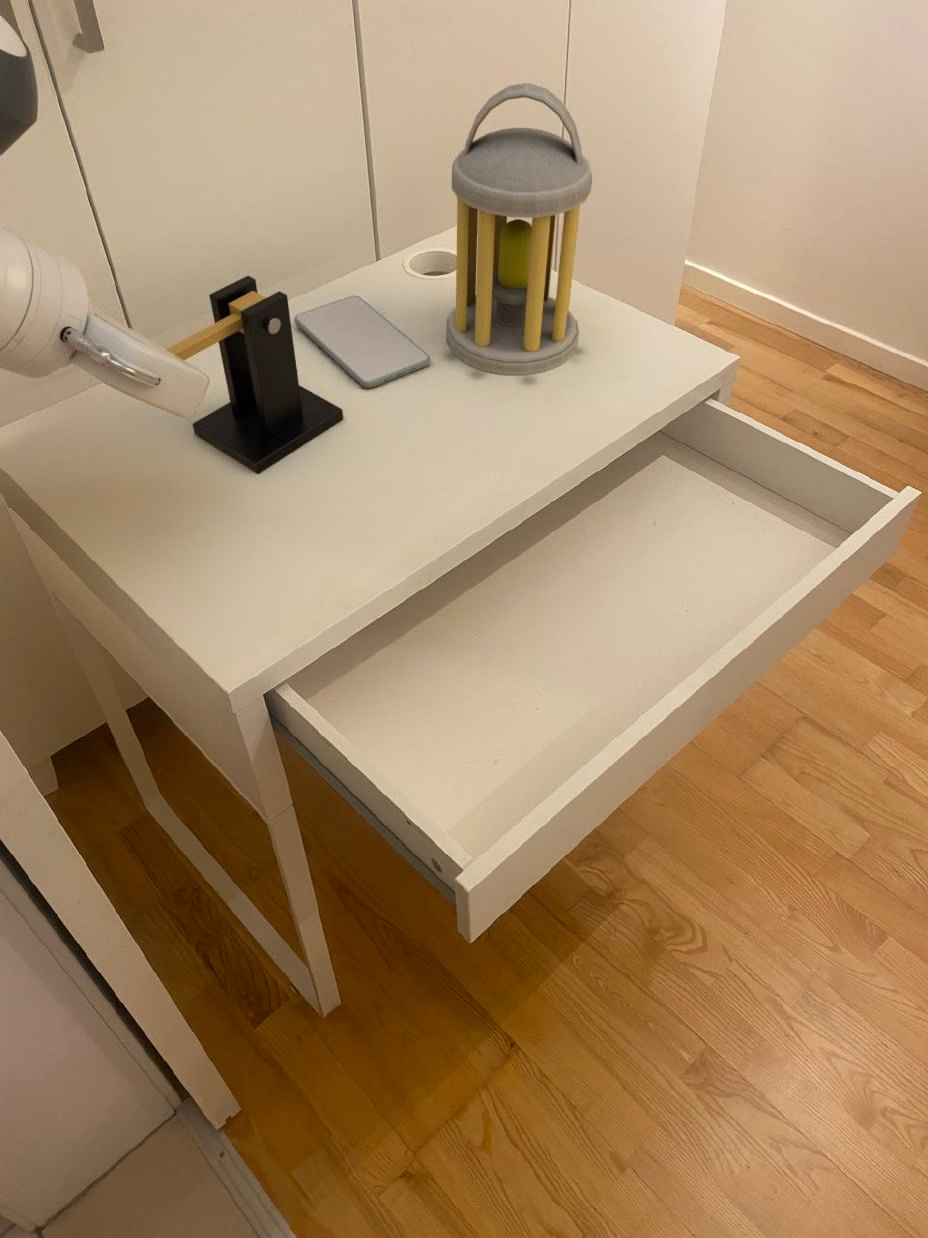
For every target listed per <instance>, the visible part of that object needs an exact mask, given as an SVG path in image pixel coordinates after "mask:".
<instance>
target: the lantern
mask: <svg viewBox="0 0 928 1238" xmlns="http://www.w3.org/2000/svg"><path fill="white" fill-rule="evenodd" d="M523 98H526V99H530V100H533V101H536V102H539V103H541V104H543V105H544V106H546V107H547V108H548V109H550V110H551V111H552V112H553V113H555V115H557V117H558V118H559V119H560V121H561V123H562V125H563V126H564V129H565V130H566V131H567V133H568V136H569V138H570V139H569V140H570V141H568V140H567V139H565V138H563V137H561V136H559V135H557V134H555V133H552V132H550V131H546V130H542V129H538V128H532V127H509V128H503V129H502V128H501V129H498V130H495V131H492V132H488V133H486V134H483V135H482V136H480V137H478V138H477V139H475V137H476V133H477V131H478V129H479V128H480V125H481V124H482V123H483V121H484V120H485V119H486V117H487V116H488V115H489V114H490V113H491V111H492V110H493V109H495V108H497V107H498V106H500V105H502V104H503V103H505V102H506V101H510V100H517V99H523ZM474 139H475V140H474ZM592 185H593V174H592V169H591V165H590V162H589V160H588V159H587V158H586V157H585V156H584V155H583V153H582V144H581V140H580V137H579V133H578V129H577V124H576V121H575V120H574V118H573V117H572V115H571V113H570V112H569V110H568V108H567V106H566V105H565V103H564V102H563V101H562V100H561V99H560V98H559V97H558V96H556V95H555V94H554V93H553V92H552V91H550V89H548V88H546V87H543V86H540V85H536V84H533V83H530V82H524V83H517V84H511V85H508V86H506V87H505V88H503V89H501V90H500V91H498V92H496V93H495V94H493V95H492V96H491V97H490V98H489V99H488V100H487V101H486V102H485V104H484V105H483V106H482V108H481V109H480V110H479V112H478V113H477V114H476V115H475V118H474V120H473V124H472V126H471V128H470V130H469V133H468V135H467V139H466V141H465V143H464V148H463V149H462V150H460V152H459V153H458V154H457V156H456V157H455V158H454V160H453V162H452V166H451V190H452V192H453V193H454V194H455V196H456V197H457V199H456V268H455V269H456V270H455V271H456V273H455V274H456V279H455V281H456V282H455V283H456V284H455V306H454V308H453V309H452V310H451V312H450V314H449V315H448V317H447V318H446V333H445V335H446V336H445V337H446V343H447V346H448V347H449V349H450V351H451V353H452V354H453V355H454V356H455V357H456V358H458V359H459V360H461V362H463V363H464V364H466V365H468V366H470V367H474V368H476V369H478V370H480V371H483V372H489V373H493V374H498V375H504V376H507V375H509V376H526V375H532V374H538V373H544V372H547V371H549V370H551V369H554V368H556V367H559V366H561V365H563V364H564V363H566V361H567V360H569V359H570V358H571V357H572V356H573V355H574V354H575V351H576V348H577V346H578V344H579V336H580V332H579V331H580V330H579V323H578V321H577V319H576V317H575V316H574V315H573V313H572V312H571V310H570V302H571V293H572V285H573V284H572V282H573V276H574V267H575V266H574V265H575V256H576V248H577V237H578V229H579V219H580V210H581V205H582V204H584V203H585V202H587V199H588V198H589V196H590V195H591V192H592ZM560 214H563V221H562V232H561V244H560V252H559V253H560V254H559V265H558V275H557V283H556V294H555V295H556V296H555V298H553V297H550V288H551V276H552V268H553V267H552V266H553V256H554V245H555V233H556V224H557V216H558V215H560ZM508 218H516V219H513V220H509V221H508ZM521 218H524V219H526V218H528V219H531V223H530V222H528V221H527V220H524V219H521Z"/></svg>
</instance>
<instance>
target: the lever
mask: <svg viewBox="0 0 928 1238" xmlns="http://www.w3.org/2000/svg"><path fill="white" fill-rule="evenodd" d="M265 298H267V297H266V296H264V295H262V294H260V293H259V292H258V293H256V292H254V291H251V292H249V293H248V294H246V295H244V296H242V297H240V298H238V299H236V300H234V301H232V302H230V303H229V309H230V314H231V315H229V316H228V317H226V318H224V319H222V320H220V321H218V322H216V323H215V322H214V323H212V324H211V325H209V326H207V327H205V328H204V329H201V330H200V331H198V332H196V333H193V334H192V335H190V336H188V337H187V338H184V339H183V340H181V341H179V342H177V343H176V344H173V345H171V346H170V347H168V348H165V349H166V350H167V351H169V352H171V353H172V354H174V355H176V356H177V357H179V358H181V359H182V360H184V361H186V360H188V359H190V358H191V357H193V356H195V355H197V354H198V353H201V352H202V351H204V350H207V349H208V348H210V347H212V346H213V345H215V344H216V343H219V341H221V340H222V339H224V338H226V337H228V336H230V335H232V334H233V333H235V332H237V331H240V332H242V333H243V334H244V330H243V324H242V318H241V312H240V311H242V310H244V309H246V308H248V307H250V306H252V305H254V304H256V303H257V302H259V301H261V300H263V299H265Z"/></svg>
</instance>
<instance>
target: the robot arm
mask: <svg viewBox="0 0 928 1238" xmlns="http://www.w3.org/2000/svg"><path fill="white" fill-rule="evenodd" d="M36 75H37V74H36V69H35V65H34V61H33V57H32V54H31V50H30V49H29V47H28V45H27V44H26V42H25V41H24V39H23V37H21V36H20V34H18V32H17V31H16V30H15V29H14V28H13V27H12V25H10V23H8V21H6V19H5V18H4V17H3V16H2V15H1V14H0V157H1V156H3V155H4V154H5V153H6V152H7V151H8V150H9V149H10V148H11V147H12V146H13V145H14V144H15V143H16V142H17V141H18V140H19V139H20V138H21V137H22V136H23V135H24V134H25V133H26V132H27V131H29V129H31V128H32V126H33V125H34V124H35V123H37V120H38V114H39V112H38V111H39V94H38V84H37V83H38V82H37V76H36ZM87 288H88V287H87V284H86V281H85V278H84V276H83V274H82V273H81V271H80V269H79V268H78V267H77V266H76V265H75V263H74V262H72V261H71V260H69V259H67V258H66V257H64V256H62V255H60V254H58V253H56V252H54V251H52V250H50V249H47V248H46V247H44V246H42V245H40V244H38V243H36V242H34V241H32V240H30V239H28V238H26V237H24V236H22V235H20V234H18V233H16V232H14V231H13V230H10V229H7V228H5V227H2V226H0V369H3V370H5V371H7V372H10V373H13V374H17V375H19V376H22V377H26V378H28V379H40V378H44V377H48V376H50V375H52V374H54V373H55V372H57V371H59V370H60V369H62V368H65V367H68V366H70V365H71V364H74V365H75V366H77V367H78V368H80V369H81V370H83V371H85V372H86V373H87V374H89V375H90V376H92V377H94V378H96V379H97V380H99V381H100V382H102V383H104V384H105V385H107V386H108V387H110V388H112V389H113V390H116V391H118V392H120V393H122V394H124V395H126V396H128V397H130V398H133V399H135V400H137V401H139V402H143V403H145V404H147V405H150V406H152V407H154V408H157V409H160V410H162V411H164V412H167V413H169V414H171V415H174V416H177V417H180V418H183V419H188V418H192V417H194V416H195V415H196V413H197V411H198V409H199V408H200V406H201V404H202V402H203V400H204V398H205V395H206V393H207V390H208V387H209V385H210V377H209V376H208V375H207V373H205V372H204V371H202V370H201V369H199V368H198V367H196V366H195V365H192V364H191V363H189V362H187V361H186V360H182V359H181V358H179V357H177V356H176V355H174V354H172V353H171V352H169V351H167V350H166V349H167V348H164V347H162V346H160V345H159V344H157V343H155V342H154V341H152V340H151V339H149V338H147V337H145V336H144V335H142V334H140V333H139V332H137V331H135V330H134V329H132V328H130V327H129V326H127V325H125V324H123V323H121V322H120V321H118V320H116V319H115V318H113V317H111V316H110V315H108V314H107V313H104V312H103V311H101V310H100V309H98V308H97V307H94V303H93V299H92V297H91V295H90V293H89V291H88V289H87Z"/></svg>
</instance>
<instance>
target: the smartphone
mask: <svg viewBox="0 0 928 1238" xmlns="http://www.w3.org/2000/svg"><path fill="white" fill-rule="evenodd" d="M294 324H295V325H296V326H297V327H298V328H299V329H300V330H301V331H303V332H304V333H305V335H307V336H308V337H309V338H310V339H311V340H312V341H313V342H314V343H315V344H316V345H317V346H319V347H320V348H321V349H322V350H323V351H324V352H325V353H326V354H327V355H328V356H329V358H331V359H332V360H333V361H334V362H336V363H337V364H338V365H339V366H340V367H341V368H342V369H343V370H344V371H345V372H346V373H347V374H348V375H350V376H351V377H352V379H354V380H355V382H357V383H358V384H359V385H360V386H361V387H363V388H365V389H370V388H374V387H376V386H379V385H382V384H384V383H386V382H389V381H392V380H394V379H398V378H399V377H402V376H404V375H408V374H410V373H413V372H415V371H418V370H420V369H423V368H426V367H428V366H429V365H430V364H431V356H430V355H429V354H428V353H427V352H426V351H424V349H422V348H421V347H419V345H417V344H416V343H415V342H414V341H412V340H411V338H409V337H408V336H407V335H406V334H404V333H403V332H402V331H401V330H400V329H398V328H397V326H395V325H394V324H393V323H391V322H390V321H389V320H388V319H387V318H385V316H383V315H382V314H381V313H380V312H379V311H377V309H375V308H374V307H373V306H371V304H369V303H368V302H367V301H365V300H364V299H363V298H362V297H361V296H359V295H350V296H348V297H344V298H341V299H338V300H335V301H332V302H330V303H327V304H324V305H320V306H318V307H315V308H312V309H310V310H307V311H304V312H300V313H298V314H296V315H295V316H294Z"/></svg>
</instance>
